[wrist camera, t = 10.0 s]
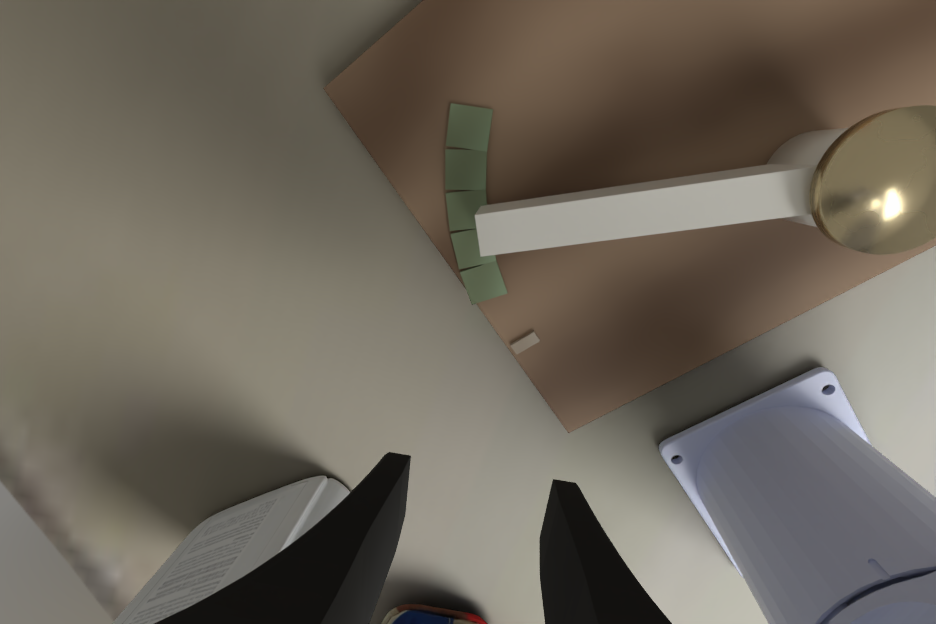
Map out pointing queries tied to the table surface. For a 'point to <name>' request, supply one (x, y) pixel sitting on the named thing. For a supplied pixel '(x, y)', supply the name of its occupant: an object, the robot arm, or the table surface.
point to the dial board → (628, 162)
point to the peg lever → (757, 194)
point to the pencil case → (429, 616)
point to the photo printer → (232, 547)
